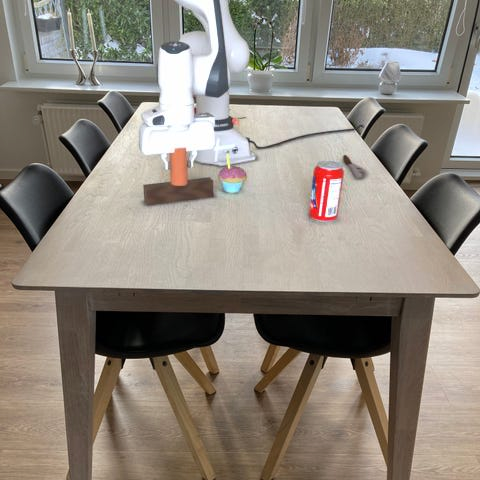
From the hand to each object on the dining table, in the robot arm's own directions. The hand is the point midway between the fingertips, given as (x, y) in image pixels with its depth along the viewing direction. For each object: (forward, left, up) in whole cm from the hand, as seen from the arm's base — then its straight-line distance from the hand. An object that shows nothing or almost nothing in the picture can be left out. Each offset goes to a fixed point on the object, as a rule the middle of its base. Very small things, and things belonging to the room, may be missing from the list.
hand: (178, 168), depth 141 cm
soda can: (-34, +21, -11) cm, 42 cm away
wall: (-2, -5, -11) cm, 12 cm away
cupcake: (-19, -7, -11) cm, 23 cm away
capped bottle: (0, 0, -4) cm, 4 cm away
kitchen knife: (-68, -12, -11) cm, 69 cm away
